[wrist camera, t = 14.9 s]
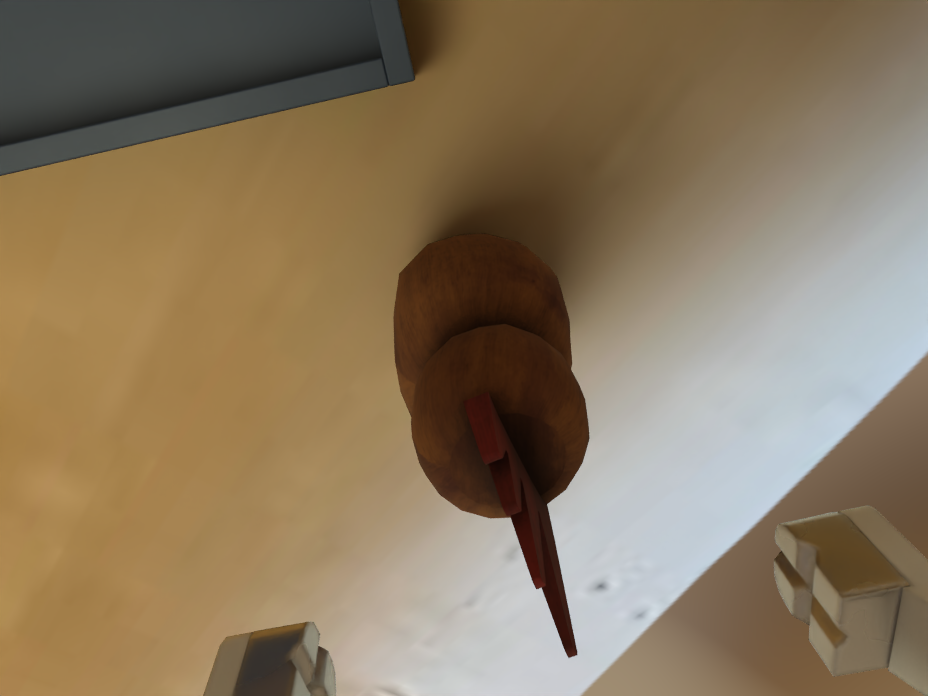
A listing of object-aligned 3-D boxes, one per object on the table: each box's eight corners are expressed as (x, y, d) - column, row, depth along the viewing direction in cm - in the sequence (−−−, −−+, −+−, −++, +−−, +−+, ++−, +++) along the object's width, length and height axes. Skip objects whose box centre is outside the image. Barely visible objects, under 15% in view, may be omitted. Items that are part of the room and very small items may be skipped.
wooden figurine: (538, 364, 26) (673, 698, 13) (404, 373, 26) (394, 726, 12) (542, 207, 23) (724, 422, 10) (390, 215, 23) (356, 449, 9)
